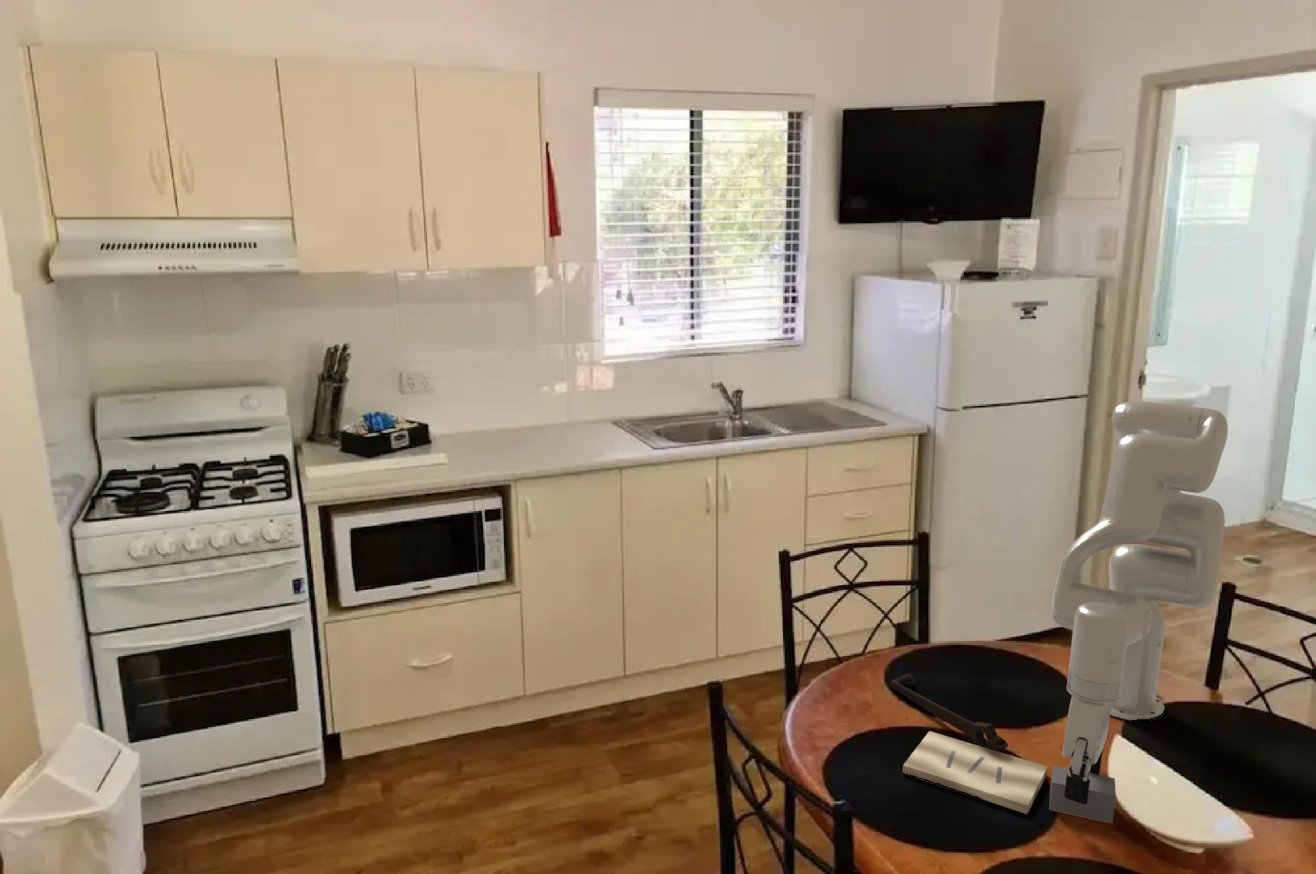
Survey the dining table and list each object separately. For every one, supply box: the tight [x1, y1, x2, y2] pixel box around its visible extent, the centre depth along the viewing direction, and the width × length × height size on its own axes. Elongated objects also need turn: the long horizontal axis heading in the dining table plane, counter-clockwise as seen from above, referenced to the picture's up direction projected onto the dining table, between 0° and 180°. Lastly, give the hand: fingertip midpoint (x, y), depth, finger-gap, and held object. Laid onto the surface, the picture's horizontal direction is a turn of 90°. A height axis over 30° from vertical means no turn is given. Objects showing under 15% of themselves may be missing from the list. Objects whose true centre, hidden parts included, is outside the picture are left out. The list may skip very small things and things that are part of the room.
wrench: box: [890, 673, 1009, 751], centre depth 178 cm, size 5×5×30 cm
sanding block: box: [1048, 765, 1117, 824], centre depth 152 cm, size 5×9×5 cm, turn 67°
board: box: [902, 730, 1049, 815], centre depth 161 cm, size 13×20×2 cm, turn 56°
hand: (1082, 785), depth 151 cm, fingers open, 9 cm apart
